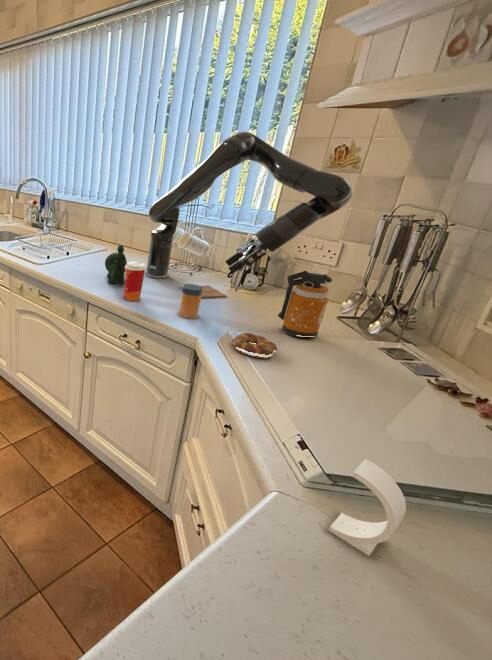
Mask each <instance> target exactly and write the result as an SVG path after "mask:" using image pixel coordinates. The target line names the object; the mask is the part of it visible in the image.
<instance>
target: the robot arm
mask: <svg viewBox="0 0 492 660" xmlns="http://www.w3.org/2000/svg"><path fill="white" fill-rule="evenodd" d="M246 161H251V162H255V163H257V164H259V165H262V166H263V167H264V168H265V169H266V170H267V171H268V172H269V173H270V174H271V176H272V177H273V179H275V180H276V181H277V182H278V183H280V184H282V185H283V186H285V187H288V188H290V189H292V190H294V191H296V192H298V193H303V194H304V193H305V194H306V193H307V194H308V195H311V196H314V197H313V198H311V199H309V200H307V202H306V201H305V202H303V201H302V202H300V203H298V204H296V205H295V206H293V207H292V208H291V209H289V210H288V211H287V212H285V213H284V214H282V215H280V216H278V217H277V218H275V219H273V220H272V221H271V222H270V223H268V224H266V225H265V226H264V227H262V228H261V229H259V230H258V231H256V233H255V237H256V238H257V239H256V240H255V239H254V238H251V239H250V240H249V241H247V242H246V243H244V244H243V245H241V246H240V247H238V248H237V249H236V250H235V253H234V254H232V255H231V256H230V257H228V258H227V259H226V260H225V264H226V265H227V266H228V270H229V271H230V272H231V273H232V274H234V273H236V272H238V271H240V270H241V269H242V268H244V267H250V266H252V265H253V264H254V263H256V262H257V261H259V260H261V258H263V257H264V256H266V255H267V252H266V250H268V251H269V252H270V253H273V252H275V251H277V250H278V249H279V248H281V247H283V246H284V245H285V244H287V243H288V242H290V241H291V240H293V239H295V238H296V237H297V236H298V235H299V234H301V233H302V232H304V231H305V230H306V229H307V228H309V227H311V226H312V225H314V224H315V223H316V222H318V221H319V220H321V219H323V218H325V217H328V216H330V215H331V214H333V213H335V212H337V211H339V210H340V209H342V208H343V207H345V206H346V205H347V204H348V203H350V201H351V200H352V197H353V188H352V183H351V182H350V181H349V180H348V179H346V178H344V177H342V176H340V175H337V174H334V173H331V172H327V171H322V170H318V169H316V168H315V167H312V166H311V165H308V164H305V163H303V162H300V161H298V160H297V159H294V158H292V157H289V156H288V155H286V154H284V153H283V152H281V151H279V150H278V149H277V148H275V147H274V146H272V145H270V144H269V143H267V142H266V141H265V140H263V139H262V138H260V137H259V136H257V135H256V134H254V133H252V132H248V131H241V132H238V133H235V134H233V135H231V136H229V137H228V138H225V139H224V140H223V141H221V142H220V143H219V144H218V146H216V148H215V149H214V150H213V151H211V154H209V155H208V157H207V158H206V159H205V160H204V161H203V162H202V163H200V164H199V165H198V166H196V167H195V168H194V169H193V170H192V171H189V173H187V175H186V176H185V177H183V179H182V180H181V181H179V182H178V183H177V184H176V185H175V186H174V187H173V188H172V189H170V190H169V191H168V192H167V193H166V194H164V195H163V196H162V197H160V198H159V199H157V200H156V201H154V202H153V203H152V204H151V206H150V208H149V211H148V217H149V220H150V221H151V222H153V223H156V224H160V226H158V227H156V228H155V229H153V230H152V231H151V232H150V239H149V246H148V247H149V248H148V255H147V260H146V261H147V262H146V269H145V276H146V277H150V278H154V279H164V278H168V275H169V267H170V261H171V254H172V248H173V241H174V236H175V234H176V232H177V227H178V222H179V218H180V213H181V211H180V207H182V206H184V205H186V204H189V203H191V202H193V201H195V200H197V199H199V198H200V197H201V196H202V195H204V194H205V193H206V192H207V191H208V190H209V189H211V188H212V186H213V184H214V182H215V181H216V180H217V178H219V177H220V176H221V175H223V174H225V173H226V172H227V171H229V170H231V169H233V168H234V167H236V166H239V165H241V164H243V163H244V162H246Z"/></svg>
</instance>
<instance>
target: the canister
mask: <svg viewBox="0 0 492 660" xmlns="http://www.w3.org/2000/svg"><path fill="white" fill-rule="evenodd" d="M332 280H333V279H332V277H331V276H328V274H325V273H324V274H323V273H322V274H320V273H314V272H308V271H307V270H303V271H300V272H297V273H294V274H291V275H288V276H287V283H288V286H287V288H286V292H285V297H284V300H283V305H282V308H281V311H280V312H278V314H277V317H278V318H280V319H281V320H282V321H283V323H282V326H281V330H282V331H283V333H284V332H285V334H288V335H289V336H292V337H294V336H296V335H301V336H315V337H311V338H310V339H314V338H317V337H318V334H319V330H320V327H321V325H322V322H323V318H324V315H325V312H326V309H327V306H328V302H329V297H328V294H329V289H328V287H327V286H326V285H325V284H326V283H331V282H333V281H332ZM294 287H295V289H294V291H293V288H294Z"/></svg>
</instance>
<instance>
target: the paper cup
mask: <svg viewBox="0 0 492 660" xmlns="http://www.w3.org/2000/svg"><path fill="white" fill-rule="evenodd" d="M146 269H147V266H146V263H144V262H138V261H128V262H127V264H126V266H125V270H126V271H125V272H124V281H125V283H124V292H123V293H124V295H123V296H124V297H123V298H124V300H125V301H129V302H138V301H140V299H141V298H140V297H141V293H142V287H143V282H144V277H145V274H146Z"/></svg>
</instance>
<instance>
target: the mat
mask: <svg viewBox="0 0 492 660" xmlns="http://www.w3.org/2000/svg"><path fill="white" fill-rule="evenodd" d="M200 286H201V287H202V288H203V290H202V296H201V299H213V298H214V299H215V298H227V295H226V294H224V293H222V292H221V291H220V290H217V289H216V288H214V287H212V286H210V285H200ZM180 289H181V290H182V286H180Z"/></svg>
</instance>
